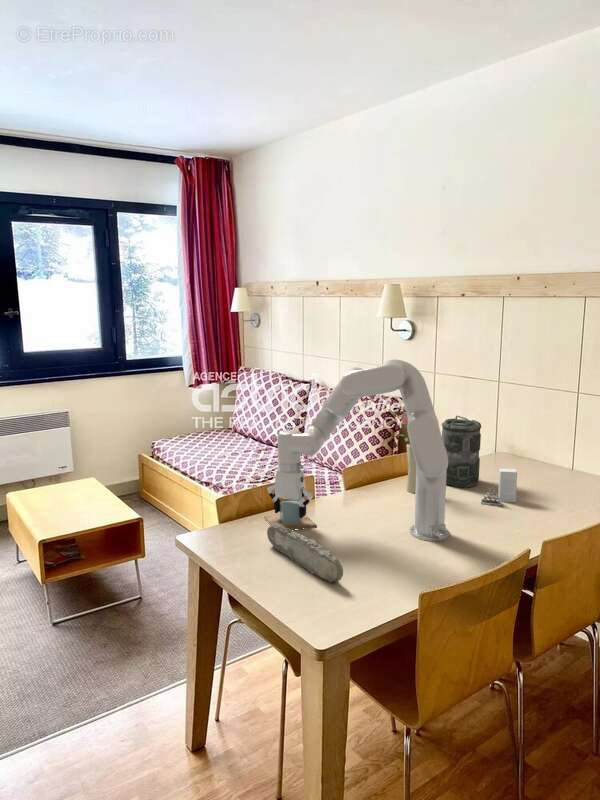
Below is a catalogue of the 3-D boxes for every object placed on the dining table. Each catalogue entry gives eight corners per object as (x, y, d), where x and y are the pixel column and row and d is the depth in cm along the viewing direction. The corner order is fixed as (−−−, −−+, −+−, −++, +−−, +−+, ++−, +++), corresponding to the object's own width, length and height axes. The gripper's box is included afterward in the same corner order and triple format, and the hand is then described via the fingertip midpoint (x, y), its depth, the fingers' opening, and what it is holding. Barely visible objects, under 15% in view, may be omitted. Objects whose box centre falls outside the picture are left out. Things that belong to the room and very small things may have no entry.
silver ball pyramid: (508, 501, 221) (509, 482, 220) (505, 509, 214) (506, 489, 212) (484, 498, 225) (485, 479, 224) (480, 505, 218) (481, 485, 216)
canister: (431, 479, 247) (433, 415, 242) (461, 474, 253) (463, 411, 248) (456, 490, 233) (459, 422, 228) (486, 485, 239) (490, 418, 234)
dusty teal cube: (296, 516, 204) (296, 500, 203) (300, 523, 198) (300, 506, 197) (280, 518, 203) (279, 501, 202) (283, 524, 197) (282, 507, 196)
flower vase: (407, 500, 223) (409, 410, 216) (385, 491, 233) (387, 405, 226) (429, 494, 229) (432, 407, 223) (407, 485, 239) (409, 402, 233)
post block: (316, 528, 197) (316, 512, 196) (277, 535, 192) (277, 518, 191) (301, 514, 210) (300, 498, 209) (264, 520, 204) (263, 504, 203)
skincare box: (514, 498, 223) (515, 468, 221) (515, 502, 219) (517, 472, 217) (497, 497, 224) (499, 468, 222) (498, 501, 220) (500, 471, 218)
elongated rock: (261, 549, 182) (261, 519, 180) (275, 544, 185) (275, 515, 183) (336, 593, 155) (336, 559, 153) (351, 587, 158) (351, 553, 156)
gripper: (317, 466, 196) (317, 514, 199) (272, 460, 204) (273, 506, 207) (306, 472, 190) (307, 522, 193) (261, 466, 198) (262, 513, 201)
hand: (290, 514), depth 200 cm, fingers open, 9 cm apart
